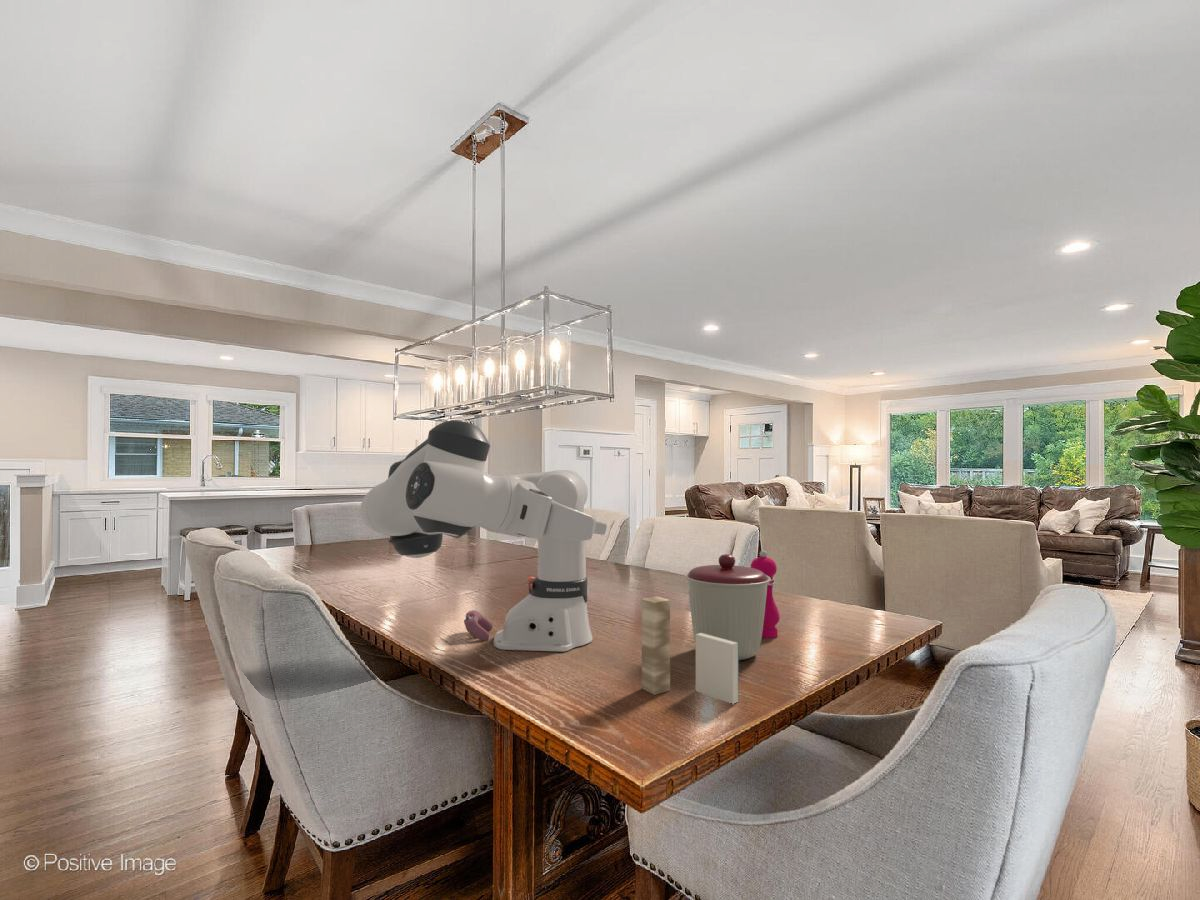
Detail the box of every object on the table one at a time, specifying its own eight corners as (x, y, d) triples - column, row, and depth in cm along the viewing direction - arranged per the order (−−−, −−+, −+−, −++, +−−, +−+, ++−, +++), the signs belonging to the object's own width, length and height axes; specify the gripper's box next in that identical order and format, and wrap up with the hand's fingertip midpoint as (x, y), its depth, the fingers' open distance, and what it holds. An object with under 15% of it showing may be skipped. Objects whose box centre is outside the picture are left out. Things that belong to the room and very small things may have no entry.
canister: (715, 636, 139) (715, 546, 140) (787, 653, 126) (786, 554, 127) (667, 653, 127) (667, 554, 127) (740, 674, 114) (740, 564, 114)
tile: (732, 704, 99) (732, 644, 100) (695, 691, 105) (695, 634, 106) (738, 702, 100) (738, 642, 101) (701, 688, 106) (701, 632, 107)
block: (653, 694, 103) (653, 602, 104) (641, 688, 106) (641, 598, 107) (670, 690, 105) (669, 600, 106) (657, 684, 108) (657, 596, 109)
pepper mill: (776, 631, 144) (776, 548, 144) (782, 639, 137) (782, 552, 137) (746, 630, 145) (745, 548, 145) (750, 638, 137) (750, 552, 138)
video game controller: (477, 636, 144) (464, 610, 144) (494, 627, 145) (481, 602, 145) (472, 648, 134) (458, 621, 134) (490, 639, 135) (476, 611, 135)
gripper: (487, 515, 101) (557, 529, 108) (536, 540, 83) (616, 555, 90) (497, 479, 101) (566, 496, 108) (548, 497, 84) (626, 515, 91)
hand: (589, 523), depth 99 cm, fingers open, 8 cm apart
